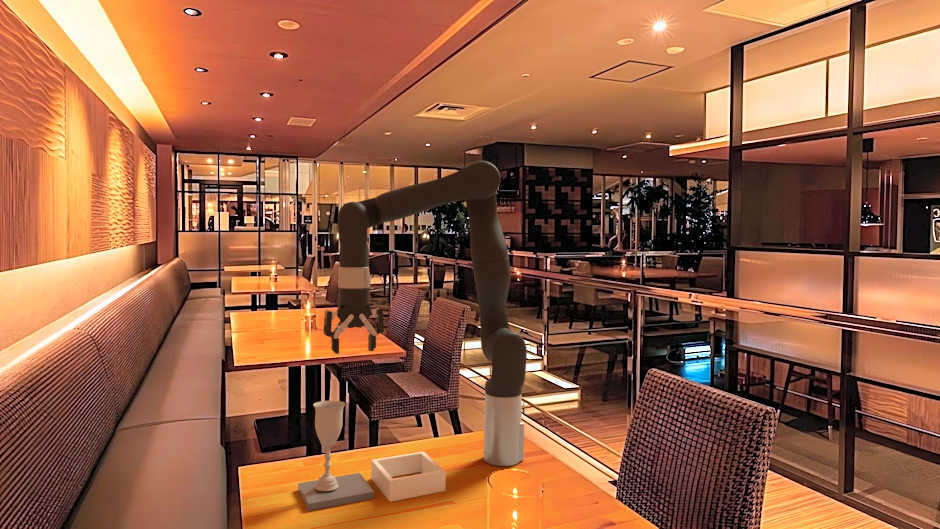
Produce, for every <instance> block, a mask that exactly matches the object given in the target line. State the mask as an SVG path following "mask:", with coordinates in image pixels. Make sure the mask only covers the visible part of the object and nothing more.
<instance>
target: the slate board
mask: <svg viewBox="0 0 940 529" xmlns="http://www.w3.org/2000/svg"><path fill="white" fill-rule="evenodd" d="M335 478H336V481H337V484H338V486H339V487H338V488H337V489H335V490H331V491H319V490H316V489H315V486H316V485H317V482H318V479H316V480H315V479H314V480H309V481H303V482H299V483H297V490H298V494H299V495H300V497H301V499H302V500H303V503H304V504H305V507H306V508H307V510H308V512H311V511H316V510H321V509H327V508H331V507H336V506H341V505H342V506H343V505H347V504H351V503H357V502H363V501H367V500H371V499H375V491H374V489H373V488H372V487H371V485H370V484H369V483H368V482H367V480H366V479H365V478H364V477H363V475H362V474H361V472H356V473H351V474H346V475H345V474H344V475H340V476H335Z"/></svg>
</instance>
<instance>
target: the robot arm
mask: <svg viewBox="0 0 940 529" xmlns="http://www.w3.org/2000/svg"><path fill="white" fill-rule="evenodd" d="M500 185H501V173H500V171H499V170H498V167H496V165H494V164H493V163H492V162H489V161H488V160H474V161H471V163H469V164H468V165H466V166H465V167H463V168H461V169H459V170H457V171H455V172H453V173H451V174H447V175H444V176H443V177H439V178H436V179H432V180H428V181H424V182H421V183H415V184H412V185H408V186H403V187H399V188H396V189H393V190H389V191H386V192H383V193H381V194H378V195H377V196H375V197H372V198H367V199H364V200H363V199H362V200H360V201H350V202H346V203H345V204H342V206H341V207H340V209H339V211H338V213H337V230H338V239H339V253H338V254H339V263H338V264H339V270H338V275H337V276H338V277H337V278H338V281H337V286H338V290H337V291H338V292H337V293H338V294H337V295H338V296H337V298H338V299H337V301H338V302H337V304H338V305H337V306H338V307H337V309H336V310H328V309H327V310H325V311H324V318H323V334H324V336H326V337H329V338H331V349H330V350H331V351H332V352H333V353H334V354H335V355H339V354H340V338H339V337H340V336H341V334H342V333H343V332H344V331H345V329H346V328H348V329H354V328H362V327H364V329H366V331H367V332H368V337H367V338H368V341H367V342H368V343H367V345H368V346H367V349H368V351H369V352H374V351H375V350H376V348H377V336H378V335H379V334H383V333H384V331H385V326H384V325H385V324H384V310H383V309H382V308H381V307H380V308H379V307H376V308H373V309H371V272H370V249H369V245H368V229H370V228H372V227H375V226H378V225H382V224H383V223H387V222H393V221H397V220H401V219H404V218H408V217H411V216H414V215H417V214H420V213H423V212H425V211H428V210H431V209H434V208H436V207H437V208H438V207H439V206H440V207H441V206H443V205H448V204H451V203H455V202H459V201H460V202H461V201H464V202H465V205H466V210H467V213H468V221H469V241H470V242H469V243H470V255H471V263H472V264H471V266H472V273H473V278H474V279H473V280H474V284H475V290H476V291H475V292H476V297H477V302H478V308H479V320H480V323H479V324H480V325H479V326H480V344H481V351H482V353H483V355H484V357H485V358H486V359H487V360H488V361H489V362H490V363H491V374H490V378H489V379H487V380H485V385H484V429H483V430H484V432H483V433H484V434H483V435H484V436H483V437H484V438H483V440H484V441H483V446H484V447H483V461H484V462H485V463H487V464H489V465H492V466H497V467H499V466H500V467H509V466H514V465H517V464H519V463H520V462H522V461H523V462H524V460H525V459H524V453H525V451H524V450H525V448H524V447H525V446H524V445H525V423H524V422H523V421H522V400H523V399H522V394H523V392H522V391H523V386H524V385H525V381H526V380H525V379H526V370H527V356H528V355H527V354H528V352H527V344H526V342H525V339H524V338H523V336H522V335H520V334H519V333H518V332H516V331H513V330H511V328H510V323H509V319H508V312H507V310H508V309H507V301H508V296H509V291H510V288H511V287H510V285H511V282H512V281H511V278H512V274H511V263H510V258H509V257H510V256H509V251H508V247H507V243H506V238H505V235H504V232H503V228H502V226H501V222H500V219H499V215H498V214H499V213H498V204H497V191H498V190H499V187H500ZM372 315H373V317H374V318H375V328H374V327H373V325H372V324H371V323H370V320H369V319H370V317H371V316H372ZM336 317H337V318H338V319H339V321H338V322H337V324H336V326H335V328H334V329H333V331H332V323H333V321H334V319H335V318H336ZM374 349H375V350H374Z"/></svg>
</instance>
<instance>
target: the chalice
mask: <svg viewBox="0 0 940 529" xmlns="http://www.w3.org/2000/svg"><path fill="white" fill-rule="evenodd" d="M312 406H313V408H314V411H315V414H314V415H315V418H314V428H315V432H316V435H317V438H318V440H319V442H320V445H321V446H322V447H324V448H325V454H324V456H323V457H324V460H325V461H324V463H323V467H324V469H325V470H324V473H323V474H322V475H320V476H319V477H318V479H317V480H318V482H317V485H316V486H315V489H316V490H319V491H331V490H335V489H337V488H338V487H339V486H338V484H337V481H336V478H335V477H336V476H335V475H333V474H331V471H330V469H331V468H330V467H331V466H332V463H331V457H332V454H331V448H332V447H333V446H335V445H336V442H337V441H338V438H339V437H340V434H341V432H342V428H343V418H344V416H343V415H344V414H343V413H344V407H345V406H346V402H345V401H340V400H323V401H317V402H315V403H313V405H312Z"/></svg>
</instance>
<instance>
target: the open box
mask: <svg viewBox="0 0 940 529" xmlns="http://www.w3.org/2000/svg"><path fill="white" fill-rule="evenodd" d="M415 473H417V474H415ZM446 473H447V472H446V470H445V469H444V468H443V467H442V466H441V465H440V464H438V463H437V462H436V461H435V460H434V459H433V458H432V457H431V456H429V455H428V454H427V452H425V451H423V450H422V451H417V452H411V453H405V454H399V455H393V456H388V457H387V456H386V457H382V458H381V457H380V458H375V459H374V458H373V459H371V472H370V477H371V478H370V479H371V481H372V482H373V483H374V484H375V485H376V486H377V488H378V489H379V490H380V491H381V493H382V495H383V496H385V498H386V499H387V500H388V501H389V502H395V501H401V500H405V499H411V498H416V497H421V496H426V495H431V494H437V493H441V492H445V491H446V485H447V484H446V480H447V479H446V477H447V476H446V475H447V474H446ZM410 474H413V475H410ZM406 475H407V476H406ZM399 476H400V477H399ZM394 477H396V478H394Z"/></svg>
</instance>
